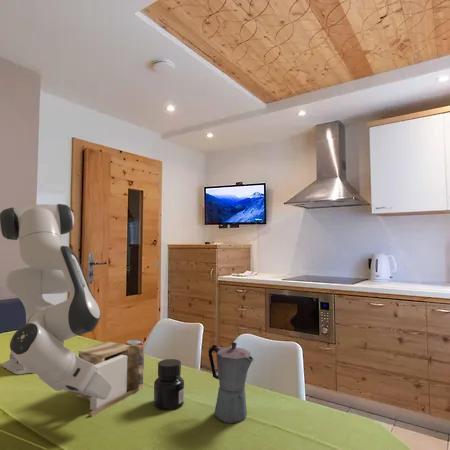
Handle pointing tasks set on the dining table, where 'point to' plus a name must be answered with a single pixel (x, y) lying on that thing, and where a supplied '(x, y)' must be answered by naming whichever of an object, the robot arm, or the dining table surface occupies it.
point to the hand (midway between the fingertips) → (92, 394)
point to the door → (112, 379)
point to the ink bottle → (169, 385)
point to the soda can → (136, 343)
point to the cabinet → (110, 351)
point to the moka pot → (231, 382)
